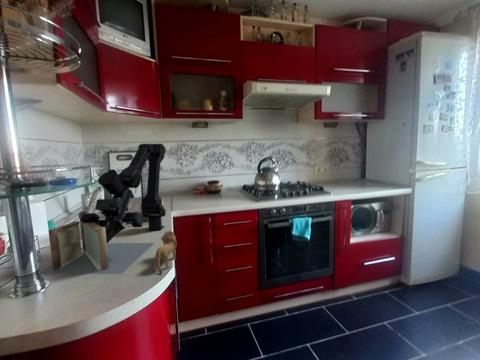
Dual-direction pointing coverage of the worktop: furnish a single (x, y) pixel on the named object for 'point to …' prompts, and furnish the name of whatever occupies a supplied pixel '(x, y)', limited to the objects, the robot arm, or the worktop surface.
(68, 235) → the fixed fence section
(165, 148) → the robot arm
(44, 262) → the worktop surface
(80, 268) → the card
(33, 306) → the worktop surface
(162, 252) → the lion figurine
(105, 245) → the swinging fence panel
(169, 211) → the worktop surface
